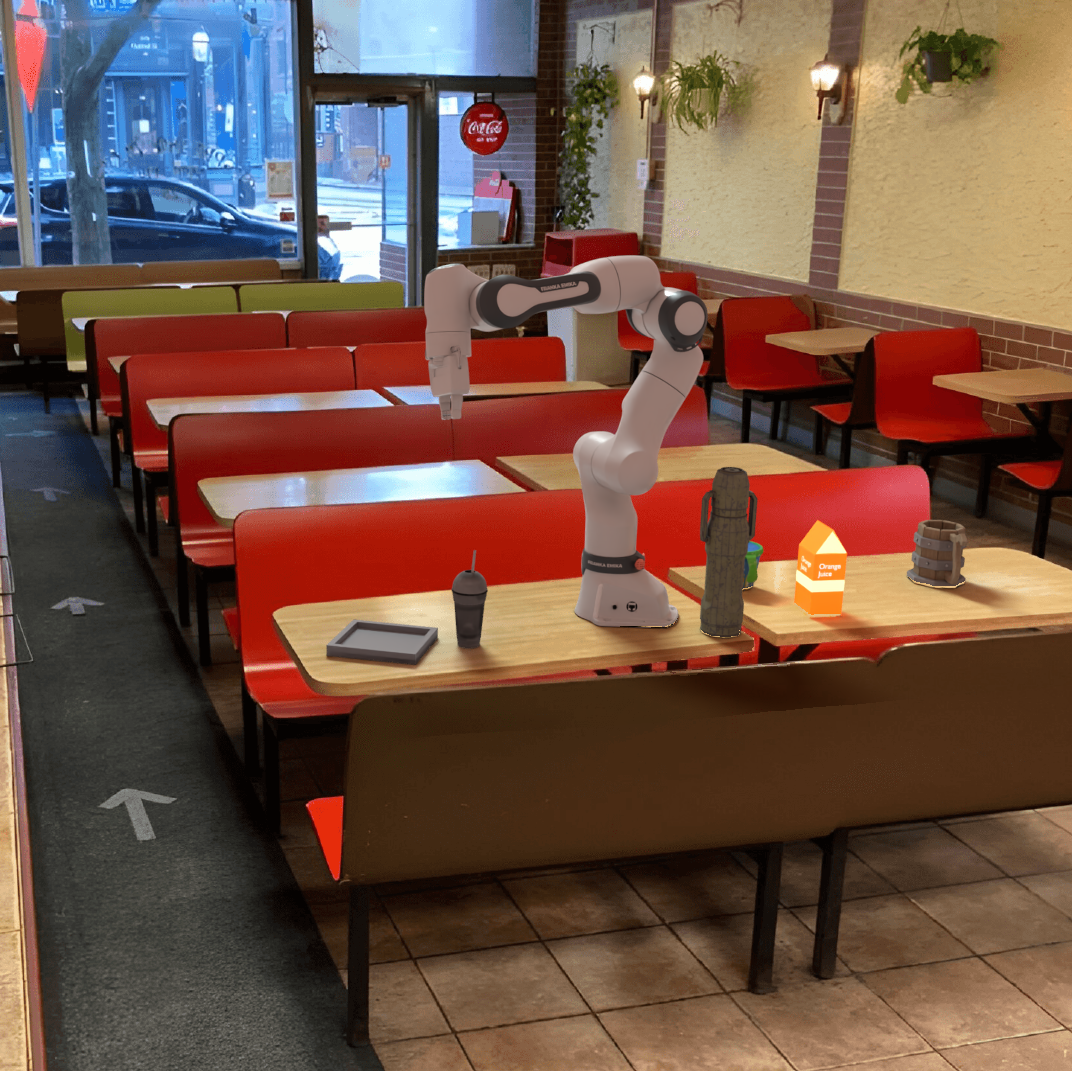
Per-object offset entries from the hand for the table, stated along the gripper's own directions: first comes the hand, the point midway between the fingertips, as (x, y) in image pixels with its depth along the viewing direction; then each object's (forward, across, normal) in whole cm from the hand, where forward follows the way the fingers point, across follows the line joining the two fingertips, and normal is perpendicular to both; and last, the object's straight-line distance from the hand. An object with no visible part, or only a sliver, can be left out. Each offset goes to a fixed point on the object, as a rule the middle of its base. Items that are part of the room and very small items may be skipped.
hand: (451, 419), depth 261 cm
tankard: (+43, +22, -122) cm, 132 cm away
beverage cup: (+46, +3, -2) cm, 46 cm away
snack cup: (+41, +29, -73) cm, 89 cm away
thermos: (+46, +1, -56) cm, 73 cm away
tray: (+45, +4, +15) cm, 47 cm away
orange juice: (+45, +10, -83) cm, 95 cm away
